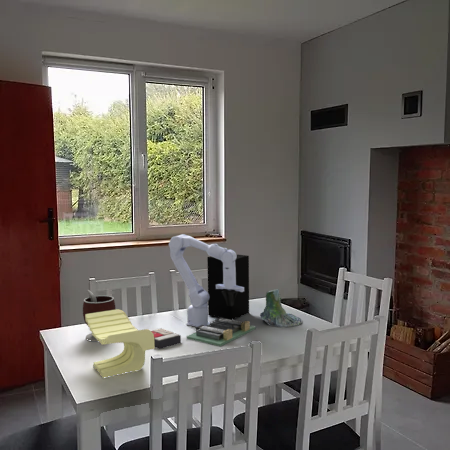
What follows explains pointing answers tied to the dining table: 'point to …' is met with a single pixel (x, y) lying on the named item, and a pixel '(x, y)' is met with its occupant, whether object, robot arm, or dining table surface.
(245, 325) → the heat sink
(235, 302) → the video game console
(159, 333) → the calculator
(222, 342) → the circuit board
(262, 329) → the dining table surface
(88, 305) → the mate gourd
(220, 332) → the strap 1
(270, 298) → the tree stump
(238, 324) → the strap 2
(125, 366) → the slatted curved stool
